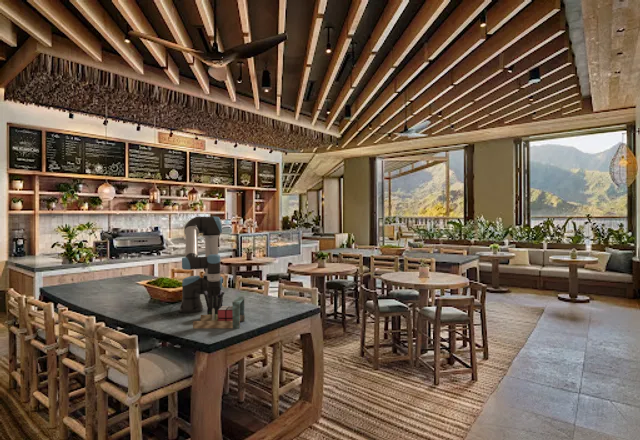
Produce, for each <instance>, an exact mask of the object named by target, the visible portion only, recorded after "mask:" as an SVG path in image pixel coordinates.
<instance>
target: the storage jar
mask: <svg viewBox="0 0 640 440" xmlns="http://www.w3.org/2000/svg"><path fill="white" fill-rule="evenodd" d="M207 295H208V298H209V302H210V295H209V294H207ZM220 295H221V294H220V293H219V294H218V303H219V299H220ZM223 302H224V297H223V298H222V302H221V306H220V308H221V307H222V306H223ZM213 307H214V297H213ZM214 308H215V307H214ZM220 308H218V309H220ZM218 309H217V314H216V315H218ZM206 310H207V311H206V312H207V313H206V315H212V314H211V310H210V308H207V309H206Z"/></svg>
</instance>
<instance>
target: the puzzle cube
mask: <svg viewBox="0 0 640 440" xmlns="http://www.w3.org/2000/svg"><path fill="white" fill-rule="evenodd" d="M218 321H233V310H232V305H222V307H221V308H220V309H218Z"/></svg>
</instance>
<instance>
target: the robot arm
mask: <svg viewBox="0 0 640 440" xmlns="http://www.w3.org/2000/svg"><path fill="white" fill-rule="evenodd" d="M183 230H184V231H183V232H184V235H185V251H184V253H185V256H184V257H182V258H181V269H182V270H186V271H187V270H190V271H191V270H205V273H204V274H203V277H201V276H200V275H191V276H187V277H184V278H183V279H182V284H181V286H182V288H181V289H182V294H181V295H182V301H181V304H180V305H179V312H180V313H183V314H189V313H190V314H192V313H199V312H201V311H203V309H204V306H203V302H202V300H201V295H203V296H204V299H205V303H206V308H207V309H208V308H210V310H211V314H212V320H215V319H216V314H217V309H218V308H220V306H221V302H222V298H223V299H224V295H225V293H226V292H225V291H224V290H222V288H223V276H221V255H220V254H219V238H220V237H221V234H222V233H223V227H222V220H221V218H220V217H219V216H195V217H193V218H191V219H189V220H188V222H187V223H186V224H185V226H184V229H183ZM199 234H202V237H204V242H205V243H204V246H205V248H204V250H205V251H204V252H205V254H204V255H205V256H199V239H198V238H199V237H198V236H199ZM219 293H220V294H221V295H220V299H219V303H218V294H219ZM207 294H209V295H210V302H209V298H208V295H207ZM213 297H214V307H215V308H214V307H213ZM222 303H223V302H222Z"/></svg>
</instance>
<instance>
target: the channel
mask: <svg viewBox="0 0 640 440" xmlns="http://www.w3.org/2000/svg"><path fill="white" fill-rule="evenodd" d="M231 306H232V310H233V321H218V315H216V319H215V320H212V315H207V314H200V320H194V321H192V329H241V322H245V296H237V297H236V298H235V299H234V300H233V301H232V304H231Z"/></svg>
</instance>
